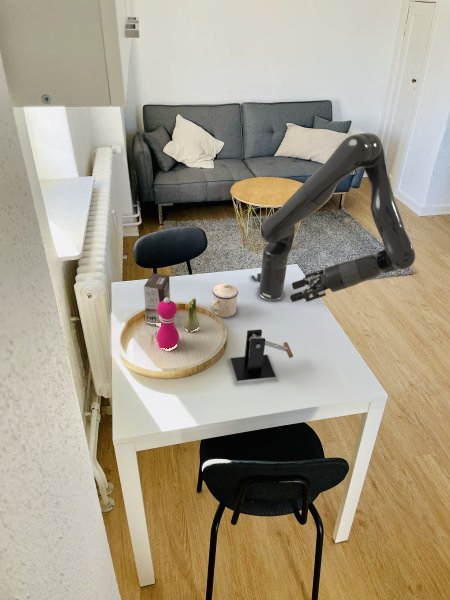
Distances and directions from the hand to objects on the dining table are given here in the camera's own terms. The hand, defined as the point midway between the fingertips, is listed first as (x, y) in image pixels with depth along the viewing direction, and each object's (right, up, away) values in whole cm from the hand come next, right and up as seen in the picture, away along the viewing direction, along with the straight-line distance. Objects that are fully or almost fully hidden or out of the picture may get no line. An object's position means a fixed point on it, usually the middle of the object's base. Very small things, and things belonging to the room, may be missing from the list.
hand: (291, 292), depth 138 cm
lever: (-7, -17, 0) cm, 18 cm away
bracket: (-12, -24, +4) cm, 27 cm away
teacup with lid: (-22, -7, +28) cm, 36 cm away
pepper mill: (-39, -18, +11) cm, 44 cm away
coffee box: (-44, -9, +23) cm, 50 cm away
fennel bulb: (-32, -13, +19) cm, 39 cm away
